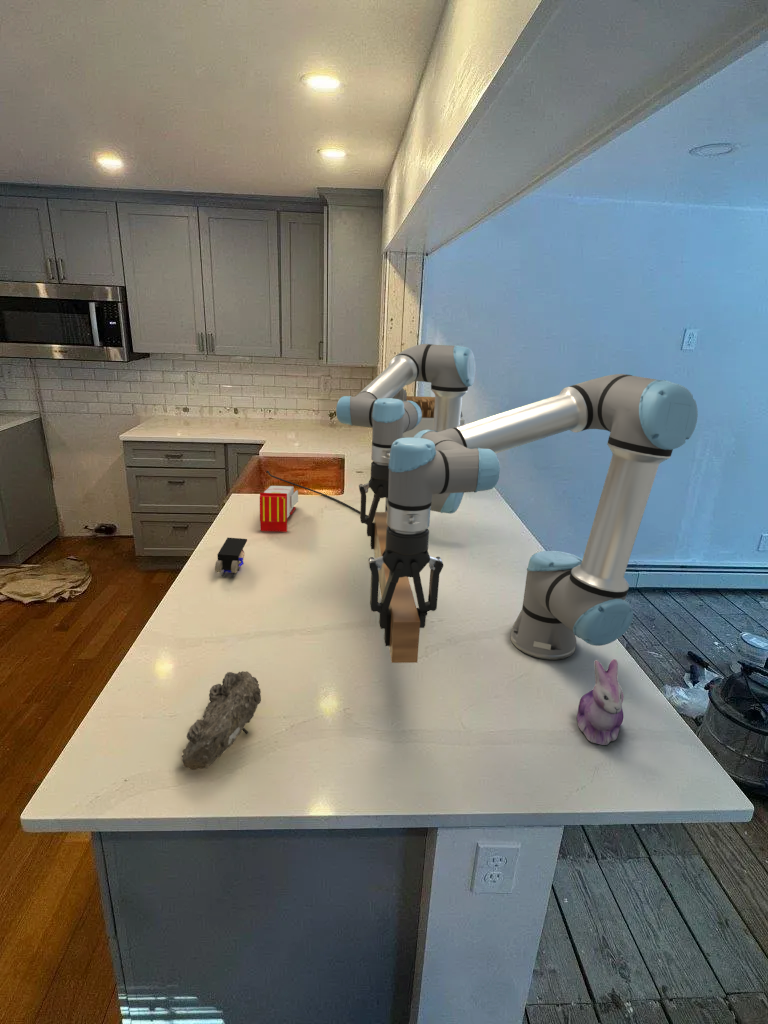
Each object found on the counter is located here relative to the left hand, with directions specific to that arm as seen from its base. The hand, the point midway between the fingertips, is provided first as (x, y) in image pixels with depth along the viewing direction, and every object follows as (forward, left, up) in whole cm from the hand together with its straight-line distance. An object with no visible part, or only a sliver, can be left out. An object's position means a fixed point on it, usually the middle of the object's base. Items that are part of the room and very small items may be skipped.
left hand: (382, 547), depth 150 cm
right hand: (+37, -27, 0) cm, 46 cm away
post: (+18, -13, -1) cm, 23 cm away
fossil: (+22, -56, -15) cm, 62 cm away
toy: (-69, +9, -15) cm, 71 cm away
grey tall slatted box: (-85, +97, -15) cm, 130 cm away
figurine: (+65, 0, -15) cm, 67 cm away
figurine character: (-39, -24, -15) cm, 49 cm away
